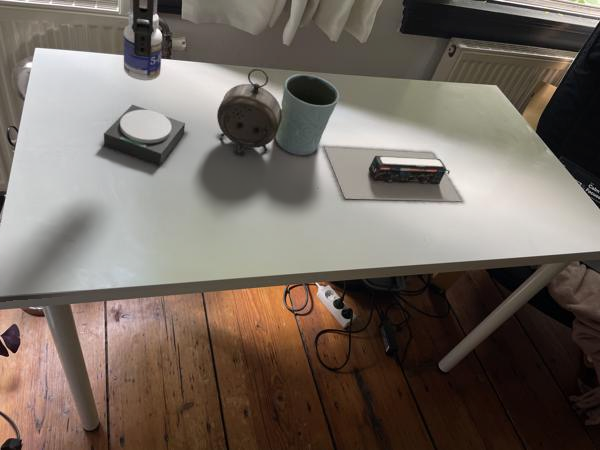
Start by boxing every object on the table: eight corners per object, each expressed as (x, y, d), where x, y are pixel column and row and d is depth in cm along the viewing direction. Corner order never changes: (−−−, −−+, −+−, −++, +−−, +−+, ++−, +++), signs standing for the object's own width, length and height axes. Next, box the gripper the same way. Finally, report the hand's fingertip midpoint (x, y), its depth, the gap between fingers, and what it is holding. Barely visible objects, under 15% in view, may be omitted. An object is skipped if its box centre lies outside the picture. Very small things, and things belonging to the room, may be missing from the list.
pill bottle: (156, 84, 73) (158, 27, 67) (119, 76, 72) (119, 18, 66) (163, 67, 77) (166, 11, 70) (129, 59, 76) (129, 2, 69)
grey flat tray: (461, 201, 97) (471, 185, 94) (345, 198, 88) (352, 181, 85) (431, 153, 106) (440, 138, 103) (324, 147, 97) (330, 130, 94)
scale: (160, 164, 82) (161, 150, 80) (104, 145, 82) (103, 129, 80) (184, 133, 90) (185, 119, 87) (132, 115, 89) (132, 100, 87)
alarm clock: (274, 147, 93) (294, 71, 82) (267, 164, 89) (288, 87, 78) (218, 130, 93) (231, 51, 81) (210, 146, 89) (222, 65, 78)
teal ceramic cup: (313, 127, 101) (329, 75, 93) (327, 159, 95) (347, 107, 87) (266, 125, 98) (279, 71, 89) (278, 158, 91) (293, 103, 83)
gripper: (179, -58, 56) (170, 74, 68) (175, -97, 65) (168, 25, 77) (108, -72, 54) (112, 67, 65) (115, -110, 63) (117, 18, 75)
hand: (142, 44), depth 71 cm, fingers closed on pill bottle, 5 cm apart
